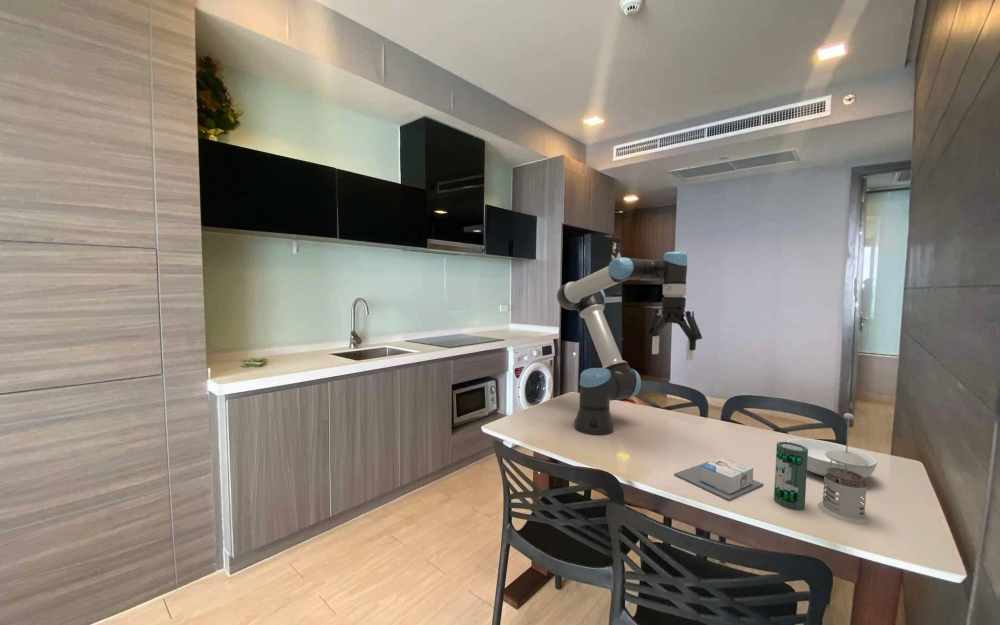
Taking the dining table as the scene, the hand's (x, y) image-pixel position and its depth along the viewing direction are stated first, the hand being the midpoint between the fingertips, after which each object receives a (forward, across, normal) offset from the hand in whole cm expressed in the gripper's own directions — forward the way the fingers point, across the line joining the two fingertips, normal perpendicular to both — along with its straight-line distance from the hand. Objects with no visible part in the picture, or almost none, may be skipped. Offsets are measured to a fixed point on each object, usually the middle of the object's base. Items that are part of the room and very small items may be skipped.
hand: (671, 356), depth 135 cm
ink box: (+28, +27, -17) cm, 43 cm away
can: (+32, +40, -6) cm, 52 cm away
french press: (+32, +48, +2) cm, 58 cm away
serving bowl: (+32, +37, +25) cm, 55 cm away
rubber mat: (+32, +24, -10) cm, 41 cm away
